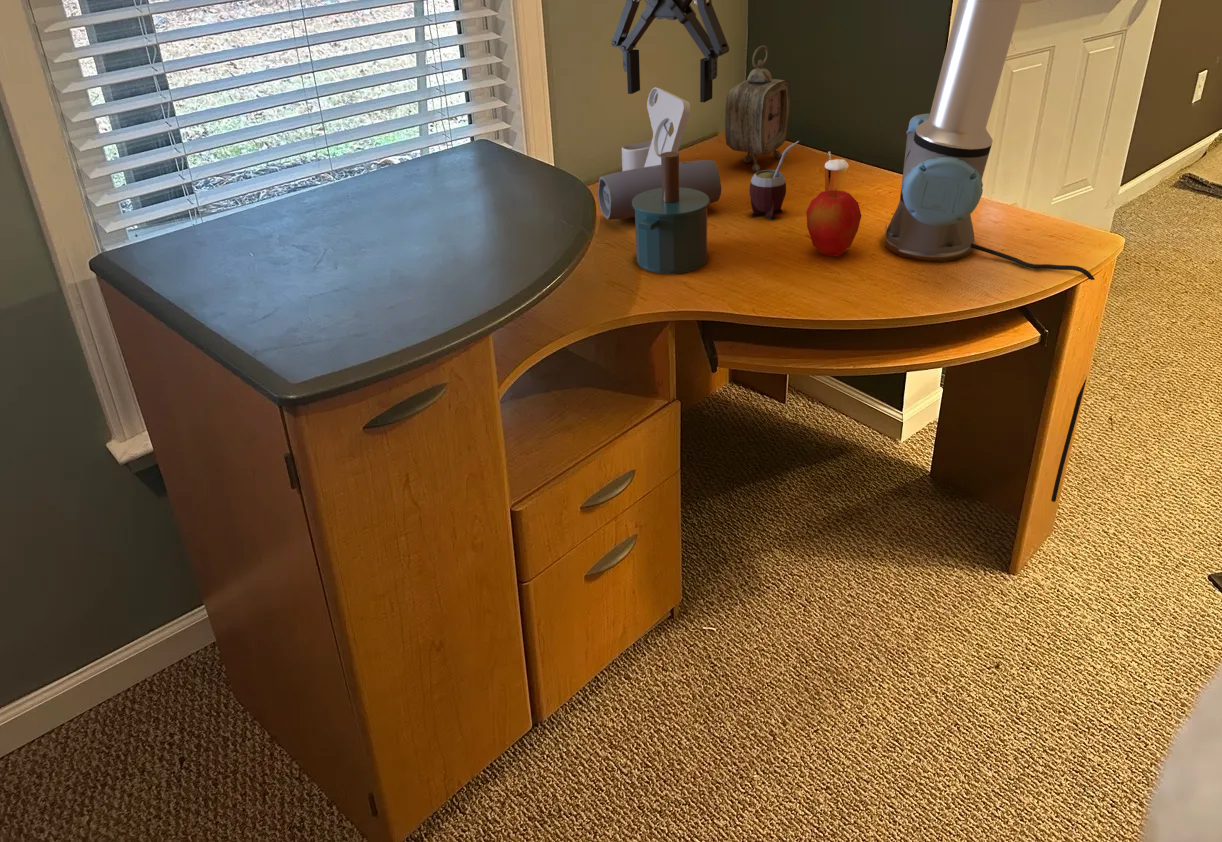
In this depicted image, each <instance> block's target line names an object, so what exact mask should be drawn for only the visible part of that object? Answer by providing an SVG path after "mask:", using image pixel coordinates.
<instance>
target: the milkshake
mask: <svg viewBox="0 0 1222 842" xmlns="http://www.w3.org/2000/svg"><path fill="white" fill-rule="evenodd" d="M827 152H828V161H826V162H825V163H824V191H829V190H835V189H836V191H845V187H846V181H847V178H848V177H847V176H848V171H849V166H850V165H849V163H848V162H847V161H846V159H844V158H842V159H841V158H840V159H839V158H836V159H832V153H831V151H830V150H829V151H827Z"/></svg>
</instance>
